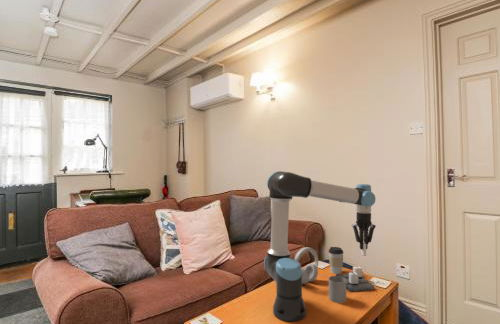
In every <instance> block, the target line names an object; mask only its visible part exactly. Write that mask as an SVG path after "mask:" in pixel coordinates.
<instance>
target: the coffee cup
mask: <svg viewBox="0 0 500 324" xmlns="http://www.w3.org/2000/svg"><path fill="white" fill-rule="evenodd" d="M328 259H329V268H330V273H332V274H334V275H337V274H343V263H344V250H343V249H342V248H341V247H339V246H330V248H329V249H328Z"/></svg>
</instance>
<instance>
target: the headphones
mask: <svg viewBox="0 0 500 324" xmlns="http://www.w3.org/2000/svg"><path fill="white" fill-rule="evenodd" d="M307 252H309V253H311V255H312V256H313V257H314V264H313V263H308V264H306V265H305V266H304V268H303V266H301V270H302V285H306V284H307V283H308V282H314V281H315V280H316V279H317V278H318V273H319V269H318V266H319V257H318V253H317V251H316V250H315V249H314V248H312V247H309V246H307V247H302V248H300V249H299V250H298V251H297V252H296V253H295V256H294V258H293V259H295V260H297V261H298V262H300V259H301V257H302V256H303V255H304V254H305V253H307Z"/></svg>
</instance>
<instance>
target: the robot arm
mask: <svg viewBox="0 0 500 324" xmlns="http://www.w3.org/2000/svg"><path fill="white" fill-rule="evenodd" d="M266 186H267V188H268V190H269V199H270V200H271V223H270V224H271V225H270V227H271V228H270V248H268V249H267V252H266V256H265V257H264V260H263V266H264V269H265V271H266V273H267V275H269V276H270V278H272V280H273V281H274V282H275V284H276V286H275V287H276V296H275V299H274V302H273V306H272V313H273V315H274V317H275V318H277V319H278V320H280V321H283V322H284V321H285V322H297V321H301V320H303V319H304V318H306V316H307V307H306V304H305V302H304V298H303V284H302V270H301V267H302V265H301V263H300V261H297V260H295V259H294V258H291V251H290V250H289V249H288V244H289V243H288V240H289V239H288V238H289V237H288V236H289V217H290V202H291V201H292V200H293V197H296V198H304V199H308V197H312V198H318V199H323V200H328V201H336V202H339V203H344V204H345V203H347V204H353V205H356V221H355V223H354V224H351V227H352V229H353V232H354V237H355V241H356V242H357V243H359V249H360V254H361V256H364V257H366V256H367V250H368V245H369V243H371V242H372V239H373V235H374V232H375V231H374V230H375V228H376V227H377V225H376V224H374V223H372V213H371V212H372V206H374V204H375V203H376V195H375V194H374V192H372V186H371V185H370V184H366V183H360V184H359V183H358V184H356V187H354V188H352V187H348V186H342V185H337V184H333V183H327V182H321V181H316V180H312V179H311V178H310V177H308V176H307V177H306V176H303V175H299V174H296V173H293V172H289V171H280V170H279V171H276V172H273V173H272V174H270V175H269V176H268V179H267V181H266Z"/></svg>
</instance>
